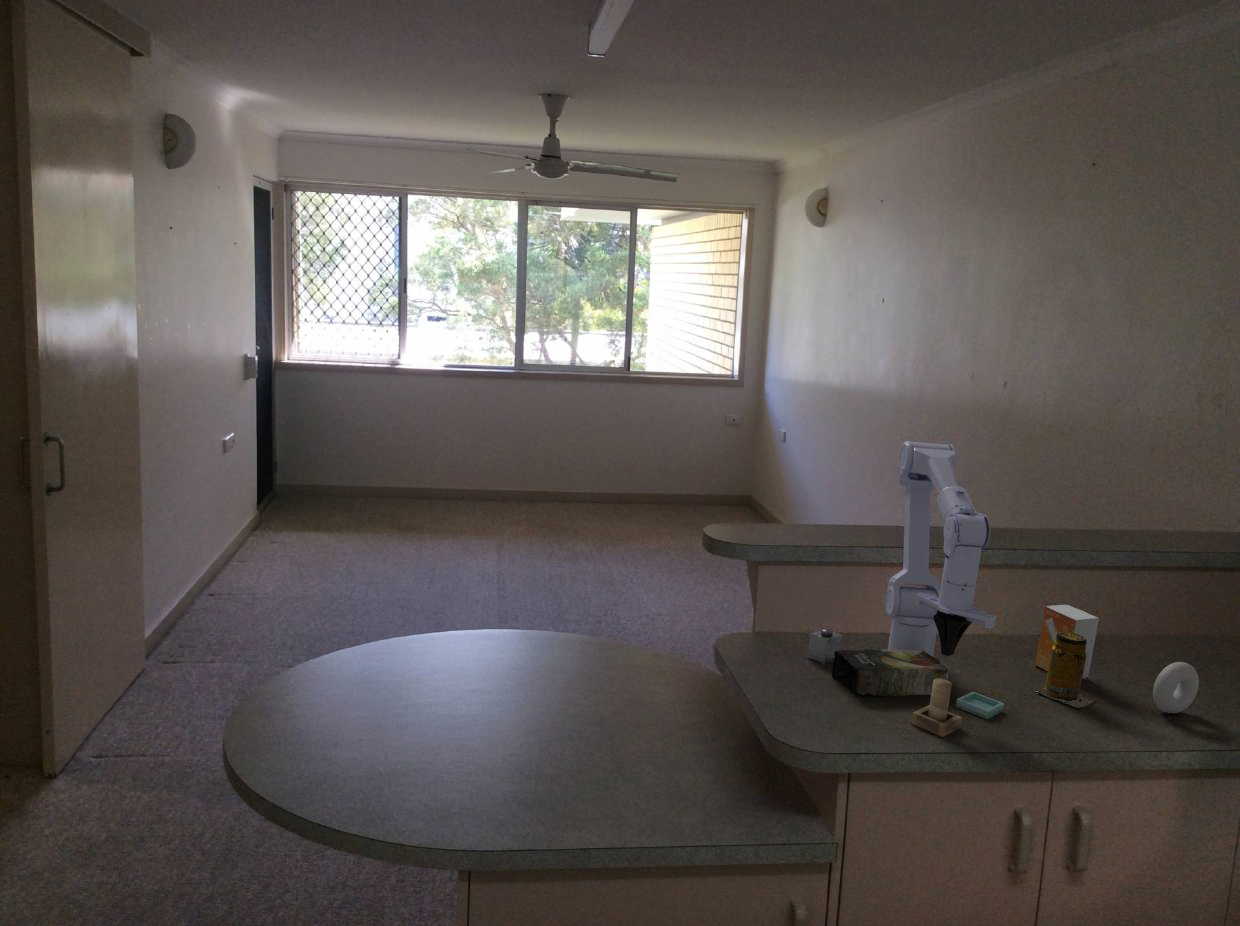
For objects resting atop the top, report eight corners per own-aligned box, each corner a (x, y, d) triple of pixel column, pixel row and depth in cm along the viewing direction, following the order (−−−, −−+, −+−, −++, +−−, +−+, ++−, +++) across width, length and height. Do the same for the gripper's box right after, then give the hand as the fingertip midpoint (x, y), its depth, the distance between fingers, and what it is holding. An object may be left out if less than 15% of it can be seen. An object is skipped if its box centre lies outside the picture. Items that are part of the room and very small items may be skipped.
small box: (1033, 666, 203) (1044, 605, 201) (1057, 663, 206) (1067, 603, 203) (1064, 682, 196) (1076, 619, 194) (1088, 679, 199) (1100, 617, 196)
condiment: (1053, 685, 194) (1063, 627, 192) (1096, 702, 188) (1107, 642, 185) (1034, 693, 190) (1044, 633, 187) (1077, 710, 183) (1088, 648, 181)
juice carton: (923, 674, 195) (928, 644, 194) (951, 696, 186) (956, 665, 184) (829, 677, 190) (833, 647, 188) (853, 700, 180) (858, 668, 179)
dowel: (932, 720, 173) (939, 677, 172) (948, 726, 171) (955, 683, 170) (923, 724, 171) (930, 680, 170) (939, 731, 169) (946, 687, 168)
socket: (929, 714, 176) (930, 704, 175) (960, 728, 171) (962, 717, 171) (911, 723, 171) (912, 712, 171) (942, 737, 167) (944, 725, 167)
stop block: (822, 652, 201) (825, 624, 200) (838, 658, 198) (842, 631, 197) (807, 657, 198) (810, 629, 197) (824, 664, 195) (827, 635, 194)
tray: (971, 699, 184) (973, 691, 184) (1002, 711, 180) (1004, 703, 180) (955, 706, 180) (956, 699, 180) (986, 719, 176) (988, 711, 175)
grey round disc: (1160, 720, 182) (1171, 668, 180) (1144, 712, 185) (1154, 661, 183) (1197, 714, 186) (1207, 663, 184) (1180, 706, 189) (1190, 656, 187)
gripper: (910, 573, 178) (899, 645, 181) (986, 596, 168) (974, 672, 170) (930, 567, 183) (920, 637, 185) (1006, 590, 173) (994, 664, 175)
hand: (947, 654), depth 178 cm, fingers closed
